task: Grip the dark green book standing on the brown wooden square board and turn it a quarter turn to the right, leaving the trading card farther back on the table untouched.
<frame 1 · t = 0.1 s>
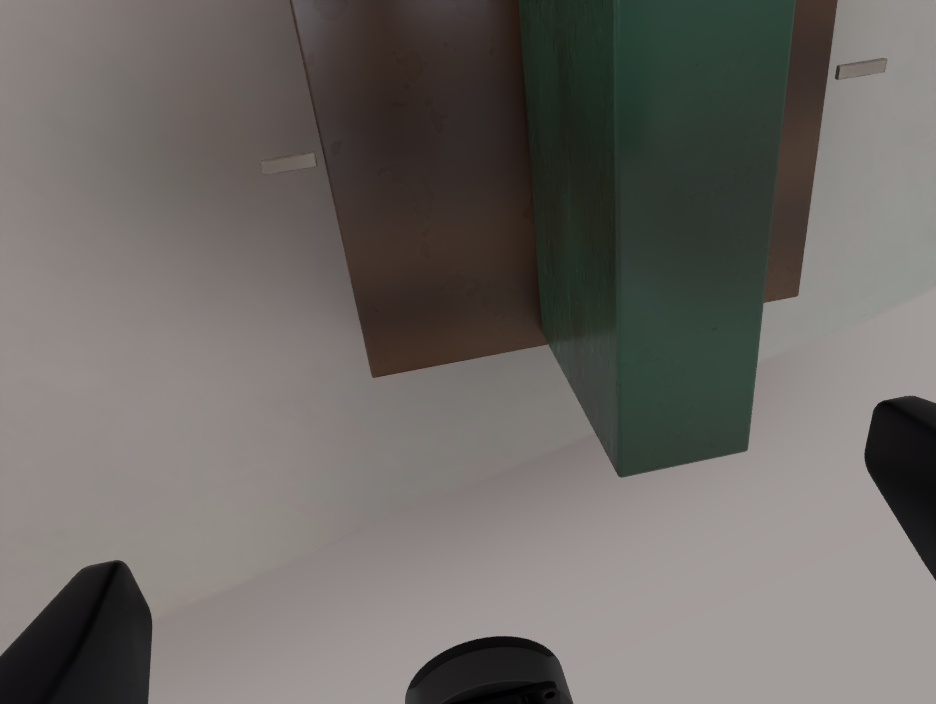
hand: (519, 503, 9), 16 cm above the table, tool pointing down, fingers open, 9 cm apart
book: (633, 152, 17), point 7 cm above the table, hinge at 0.0°
brown wooden square board: (553, 89, 23), on the table
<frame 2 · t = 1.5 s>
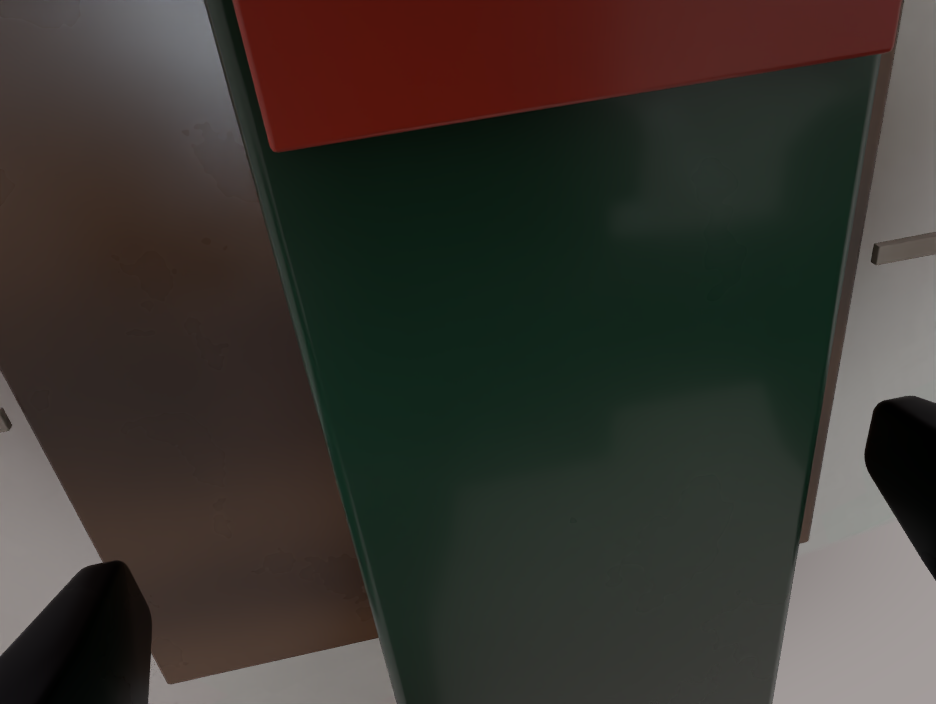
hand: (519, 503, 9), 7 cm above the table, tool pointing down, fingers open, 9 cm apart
book: (512, 474, 9), point 7 cm above the table, hinge at 0.0°
brown wooden square board: (436, 256, 15), on the table
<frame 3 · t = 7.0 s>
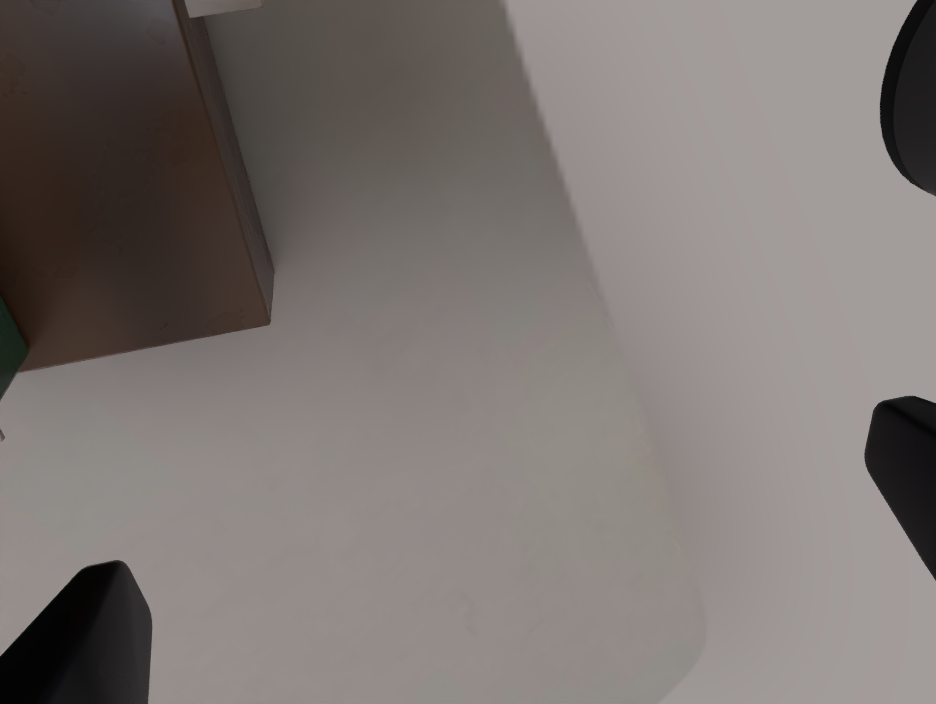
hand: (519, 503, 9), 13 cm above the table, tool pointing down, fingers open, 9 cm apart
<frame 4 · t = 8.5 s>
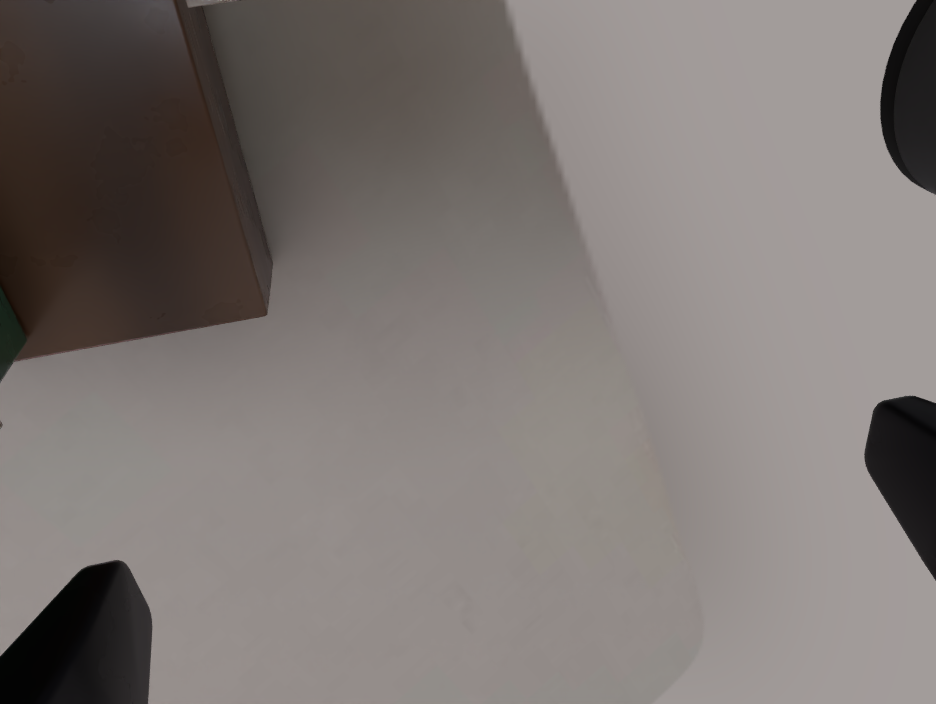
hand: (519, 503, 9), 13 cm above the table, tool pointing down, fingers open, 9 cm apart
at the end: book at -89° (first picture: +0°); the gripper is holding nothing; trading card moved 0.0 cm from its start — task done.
